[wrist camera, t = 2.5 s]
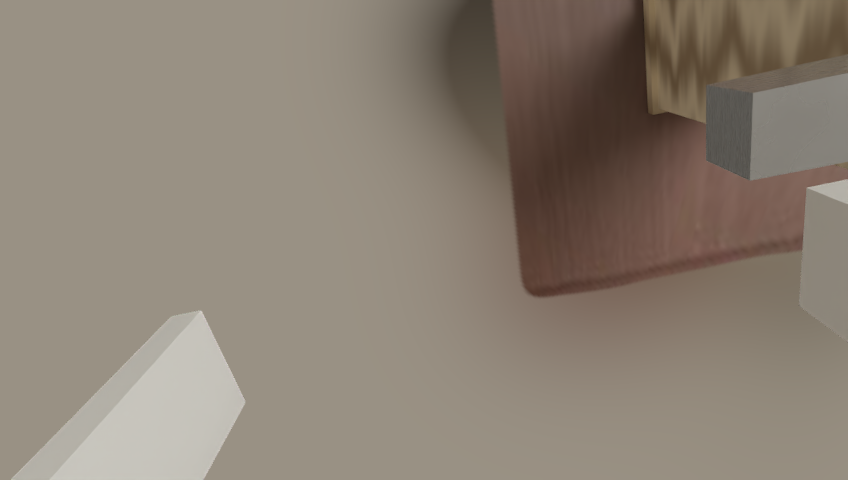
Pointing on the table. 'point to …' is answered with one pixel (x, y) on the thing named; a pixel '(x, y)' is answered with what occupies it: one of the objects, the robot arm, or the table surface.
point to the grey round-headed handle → (779, 120)
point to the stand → (732, 44)
